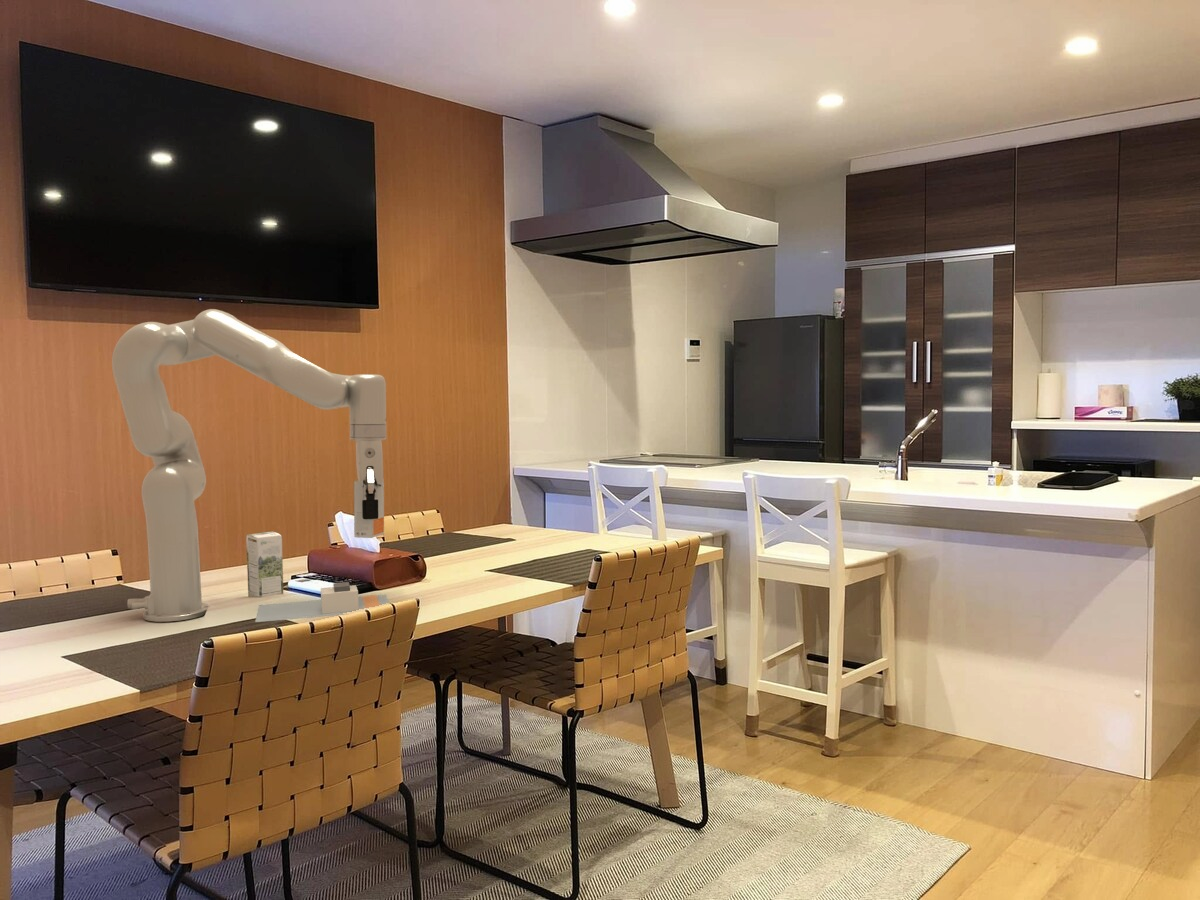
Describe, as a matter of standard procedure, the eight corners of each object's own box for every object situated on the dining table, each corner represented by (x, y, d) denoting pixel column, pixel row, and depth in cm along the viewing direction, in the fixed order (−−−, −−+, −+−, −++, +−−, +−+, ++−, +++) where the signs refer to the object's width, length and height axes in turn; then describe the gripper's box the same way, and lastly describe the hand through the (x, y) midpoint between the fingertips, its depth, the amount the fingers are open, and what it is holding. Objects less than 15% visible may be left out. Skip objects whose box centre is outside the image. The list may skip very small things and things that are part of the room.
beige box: (322, 614, 184) (321, 589, 184) (321, 607, 190) (320, 583, 190) (358, 610, 187) (357, 586, 186) (356, 604, 192) (355, 580, 192)
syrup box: (272, 594, 209) (270, 530, 208) (284, 598, 204) (281, 533, 203) (248, 598, 205) (245, 533, 204) (259, 602, 200) (256, 536, 199)
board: (255, 628, 179) (255, 622, 179) (259, 610, 193) (258, 604, 193) (392, 615, 187) (392, 609, 187) (386, 599, 201) (385, 594, 201)
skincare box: (372, 538, 193) (371, 481, 192) (353, 537, 194) (353, 481, 193) (385, 534, 199) (384, 478, 198) (367, 533, 200) (366, 478, 199)
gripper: (389, 434, 188) (390, 521, 189) (383, 430, 204) (384, 510, 205) (351, 435, 185) (352, 522, 187) (348, 431, 202) (349, 511, 203)
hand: (369, 515), depth 196 cm, fingers closed on skincare box, 7 cm apart
